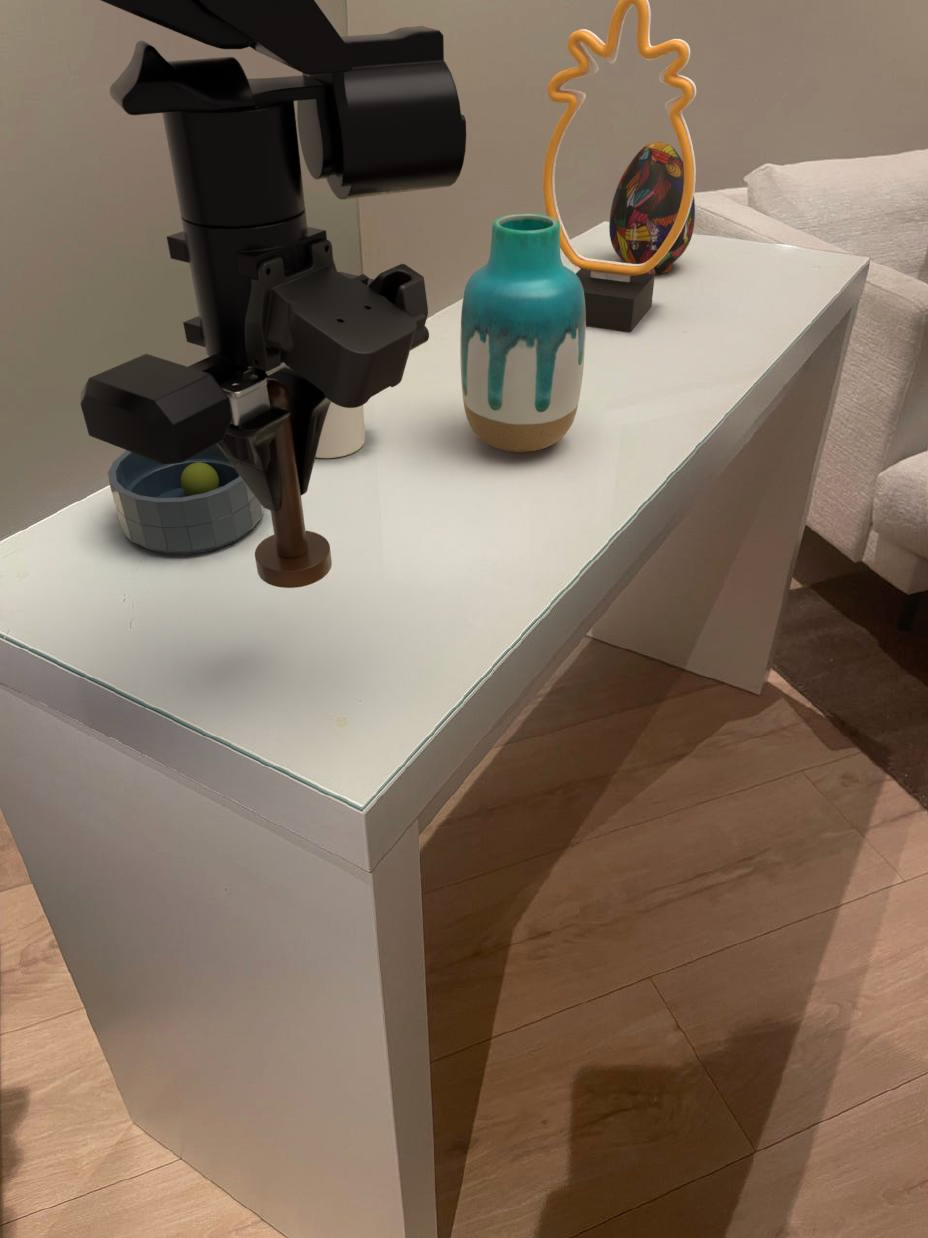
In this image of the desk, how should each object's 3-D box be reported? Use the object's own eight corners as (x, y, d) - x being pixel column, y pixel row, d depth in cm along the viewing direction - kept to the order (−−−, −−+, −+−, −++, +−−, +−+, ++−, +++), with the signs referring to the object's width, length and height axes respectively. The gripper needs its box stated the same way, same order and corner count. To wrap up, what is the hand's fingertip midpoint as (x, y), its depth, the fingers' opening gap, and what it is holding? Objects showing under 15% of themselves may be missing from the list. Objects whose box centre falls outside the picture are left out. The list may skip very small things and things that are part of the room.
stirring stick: (241, 572, 56) (207, 385, 49) (292, 538, 59) (266, 356, 52) (297, 597, 54) (270, 405, 47) (347, 560, 57) (328, 374, 50)
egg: (705, 269, 124) (723, 143, 115) (647, 286, 119) (661, 156, 110) (646, 249, 131) (659, 129, 121) (589, 265, 126) (597, 140, 117)
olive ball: (176, 499, 78) (169, 467, 76) (203, 484, 80) (197, 452, 78) (202, 510, 77) (196, 477, 75) (229, 494, 79) (223, 461, 77)
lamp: (525, 316, 111) (534, -7, 92) (550, 292, 118) (564, -15, 98) (665, 337, 106) (707, -2, 86) (684, 310, 112) (727, -10, 93)
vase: (460, 416, 91) (457, 204, 79) (571, 414, 91) (585, 202, 79) (462, 471, 82) (460, 243, 71) (584, 469, 82) (602, 240, 71)
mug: (383, 443, 87) (374, 313, 79) (323, 468, 83) (307, 334, 76) (318, 408, 92) (304, 284, 85) (259, 430, 89) (239, 302, 82)
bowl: (93, 530, 75) (76, 475, 72) (197, 472, 83) (186, 419, 80) (193, 574, 70) (180, 517, 67) (294, 508, 78) (286, 453, 75)
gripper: (221, 303, 35) (276, 636, 44) (497, 191, 47) (493, 471, 56) (30, 252, 40) (117, 561, 49) (324, 162, 52) (348, 425, 61)
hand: (285, 500), depth 54 cm, fingers closed on stirring stick, 2 cm apart
